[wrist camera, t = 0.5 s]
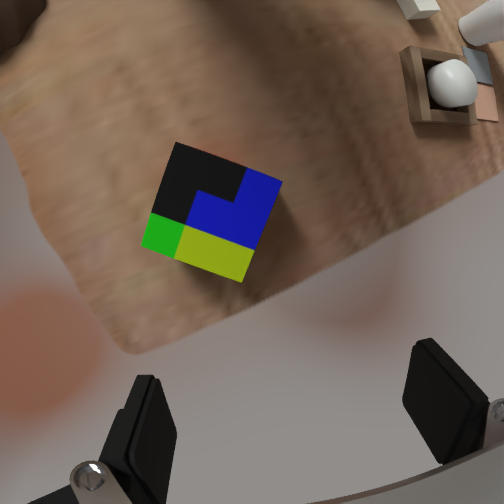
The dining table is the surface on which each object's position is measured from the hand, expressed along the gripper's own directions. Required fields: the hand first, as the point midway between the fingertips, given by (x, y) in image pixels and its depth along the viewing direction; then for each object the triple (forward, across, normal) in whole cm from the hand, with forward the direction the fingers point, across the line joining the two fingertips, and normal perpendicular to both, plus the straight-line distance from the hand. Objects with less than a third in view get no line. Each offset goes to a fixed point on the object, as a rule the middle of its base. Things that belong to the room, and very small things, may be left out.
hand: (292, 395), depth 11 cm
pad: (+30, -37, -16) cm, 50 cm away
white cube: (+30, -25, -30) cm, 49 cm away
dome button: (+27, -27, -17) cm, 42 cm away
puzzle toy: (+30, +4, -4) cm, 30 cm away
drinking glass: (+30, -36, -28) cm, 55 cm away
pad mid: (+30, -37, -22) cm, 52 cm away
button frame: (+30, -27, -17) cm, 43 cm away
